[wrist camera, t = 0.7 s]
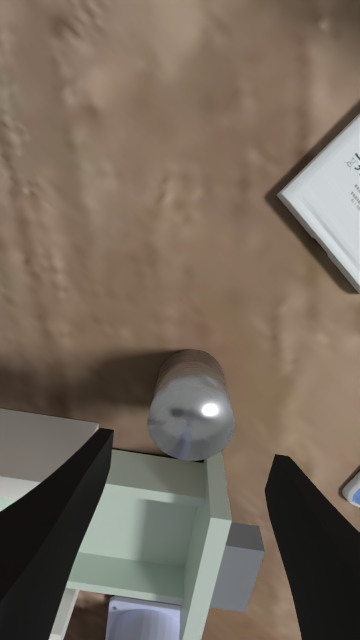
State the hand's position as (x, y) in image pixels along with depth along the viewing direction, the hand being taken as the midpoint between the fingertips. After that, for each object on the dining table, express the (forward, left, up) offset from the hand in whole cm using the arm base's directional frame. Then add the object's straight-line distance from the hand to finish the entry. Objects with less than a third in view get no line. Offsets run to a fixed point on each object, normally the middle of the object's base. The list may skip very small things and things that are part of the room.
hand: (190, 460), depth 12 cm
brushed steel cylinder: (0, 0, -8) cm, 8 cm away
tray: (-12, +3, -7) cm, 14 cm away
